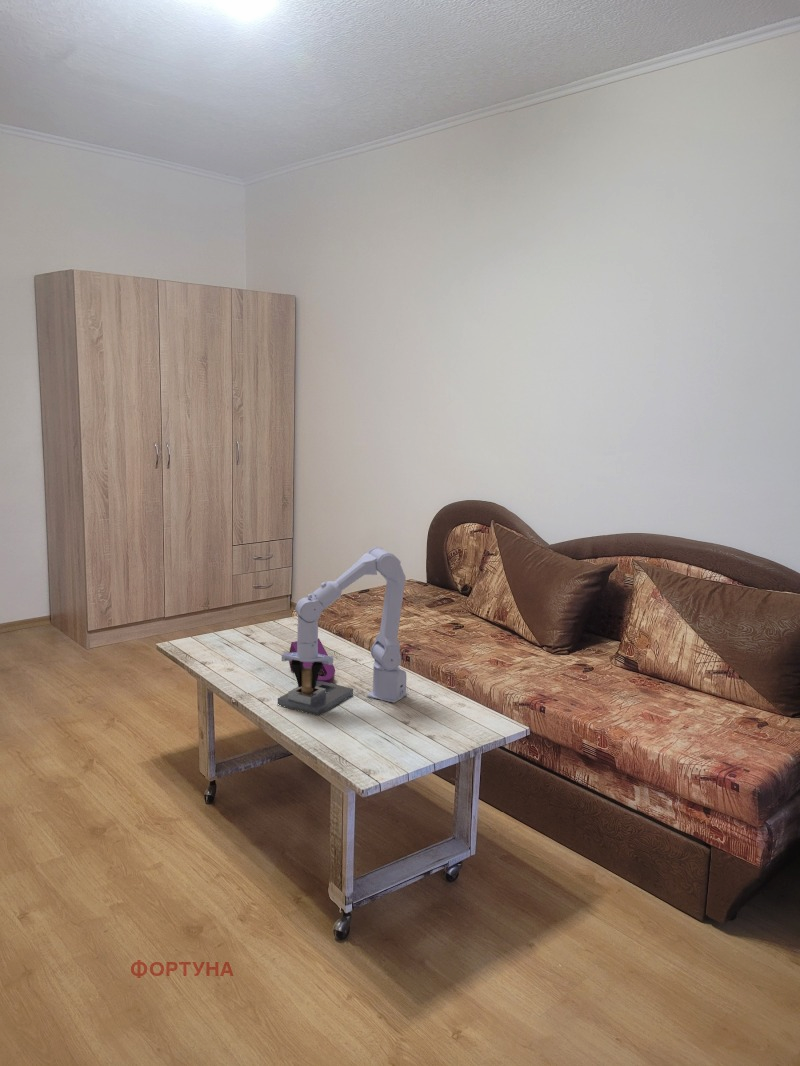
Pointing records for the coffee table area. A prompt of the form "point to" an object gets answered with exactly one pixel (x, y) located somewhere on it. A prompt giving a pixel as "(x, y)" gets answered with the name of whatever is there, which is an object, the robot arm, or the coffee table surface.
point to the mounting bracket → (327, 669)
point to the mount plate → (316, 698)
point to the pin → (306, 680)
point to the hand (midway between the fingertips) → (307, 686)
